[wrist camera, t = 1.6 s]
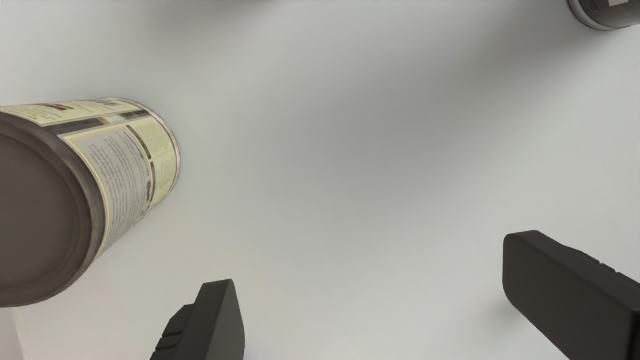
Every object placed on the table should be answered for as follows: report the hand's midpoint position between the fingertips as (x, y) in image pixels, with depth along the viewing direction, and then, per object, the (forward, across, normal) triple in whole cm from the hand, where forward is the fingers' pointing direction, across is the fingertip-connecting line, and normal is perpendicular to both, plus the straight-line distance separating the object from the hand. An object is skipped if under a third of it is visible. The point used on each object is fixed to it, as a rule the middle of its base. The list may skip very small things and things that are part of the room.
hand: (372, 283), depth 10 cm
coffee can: (+22, +17, -2) cm, 28 cm away
